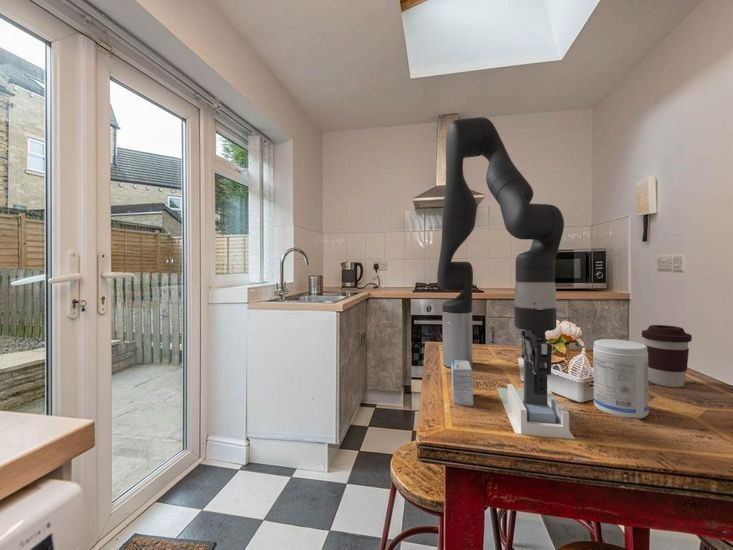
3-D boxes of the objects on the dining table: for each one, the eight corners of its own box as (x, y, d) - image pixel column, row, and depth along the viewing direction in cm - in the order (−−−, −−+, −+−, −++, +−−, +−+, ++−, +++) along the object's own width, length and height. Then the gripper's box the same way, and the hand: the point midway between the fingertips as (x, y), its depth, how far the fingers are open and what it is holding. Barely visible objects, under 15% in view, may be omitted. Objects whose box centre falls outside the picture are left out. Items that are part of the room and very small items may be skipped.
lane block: (522, 417, 70) (522, 359, 70) (546, 419, 69) (546, 360, 69) (529, 431, 65) (529, 367, 64) (555, 433, 64) (555, 368, 63)
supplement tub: (616, 400, 80) (616, 337, 80) (660, 417, 71) (660, 346, 71) (582, 405, 78) (582, 340, 77) (623, 423, 69) (623, 349, 68)
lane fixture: (496, 390, 88) (496, 370, 88) (539, 392, 86) (538, 372, 86) (515, 436, 64) (515, 409, 64) (575, 442, 61) (575, 413, 61)
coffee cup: (700, 386, 88) (700, 328, 88) (677, 392, 85) (677, 331, 85) (655, 375, 98) (655, 322, 97) (633, 380, 94) (633, 325, 94)
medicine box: (473, 408, 77) (473, 369, 77) (452, 407, 78) (452, 368, 78) (470, 395, 85) (469, 360, 85) (451, 394, 86) (451, 359, 85)
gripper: (508, 301, 77) (509, 376, 77) (522, 308, 63) (522, 400, 63) (545, 301, 75) (545, 378, 75) (568, 309, 61) (568, 403, 61)
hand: (535, 387), depth 69 cm, fingers open, 6 cm apart
